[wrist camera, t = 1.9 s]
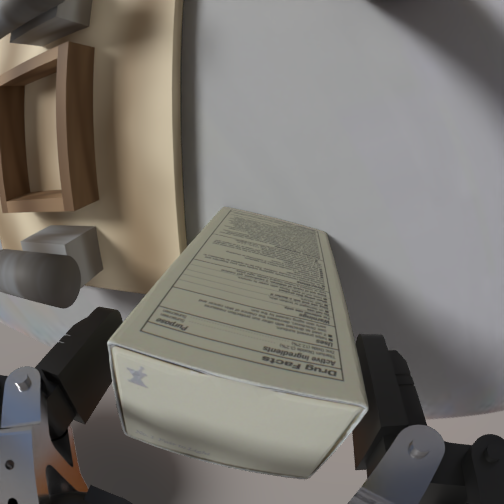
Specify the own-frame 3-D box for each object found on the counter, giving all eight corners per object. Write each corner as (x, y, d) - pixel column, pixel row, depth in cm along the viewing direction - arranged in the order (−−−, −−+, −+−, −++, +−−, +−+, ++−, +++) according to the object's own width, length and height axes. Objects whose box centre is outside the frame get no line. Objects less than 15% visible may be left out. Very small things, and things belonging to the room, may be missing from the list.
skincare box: (211, 270, 19) (115, 433, 8) (223, 201, 17) (96, 335, 6) (311, 296, 18) (307, 485, 7) (333, 229, 17) (374, 409, 6)
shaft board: (186, -46, 11) (134, -104, 5) (191, 289, 20) (143, 363, 13) (1, 33, 14) (-59, 31, 7) (17, 266, 22) (-36, 303, 16)
